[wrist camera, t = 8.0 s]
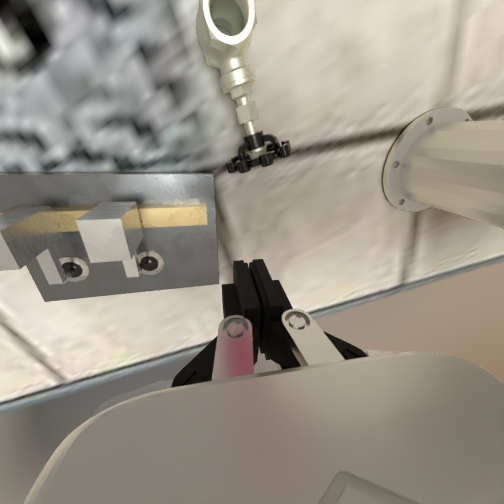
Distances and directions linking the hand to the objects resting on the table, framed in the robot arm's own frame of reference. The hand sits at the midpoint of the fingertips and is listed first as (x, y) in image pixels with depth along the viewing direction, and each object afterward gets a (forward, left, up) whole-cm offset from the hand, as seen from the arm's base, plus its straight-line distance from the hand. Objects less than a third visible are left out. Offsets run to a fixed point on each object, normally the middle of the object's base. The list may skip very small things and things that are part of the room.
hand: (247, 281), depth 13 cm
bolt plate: (+11, +3, -16) cm, 19 cm away
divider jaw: (+10, +2, -14) cm, 17 cm away
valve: (-2, -11, -16) cm, 20 cm away
